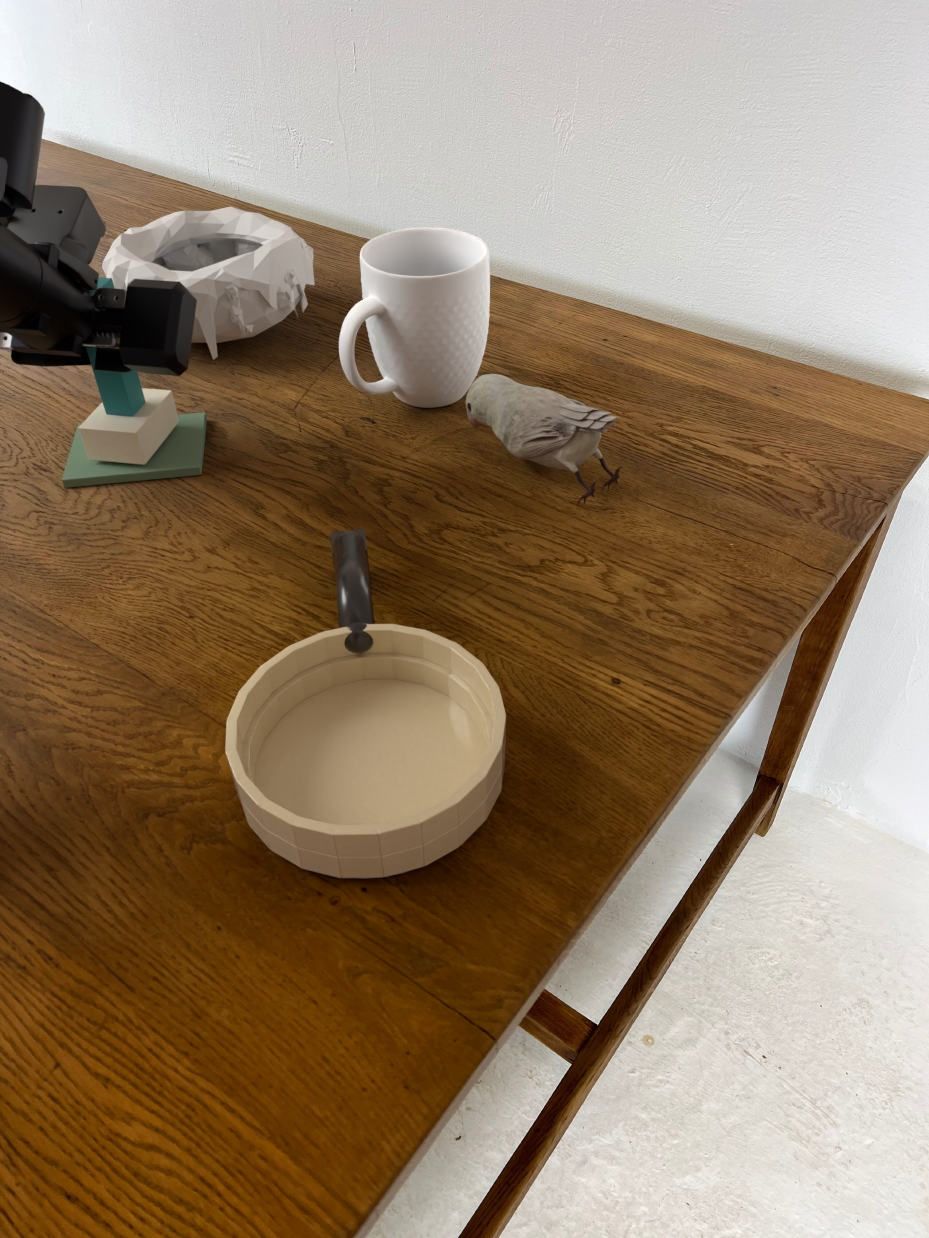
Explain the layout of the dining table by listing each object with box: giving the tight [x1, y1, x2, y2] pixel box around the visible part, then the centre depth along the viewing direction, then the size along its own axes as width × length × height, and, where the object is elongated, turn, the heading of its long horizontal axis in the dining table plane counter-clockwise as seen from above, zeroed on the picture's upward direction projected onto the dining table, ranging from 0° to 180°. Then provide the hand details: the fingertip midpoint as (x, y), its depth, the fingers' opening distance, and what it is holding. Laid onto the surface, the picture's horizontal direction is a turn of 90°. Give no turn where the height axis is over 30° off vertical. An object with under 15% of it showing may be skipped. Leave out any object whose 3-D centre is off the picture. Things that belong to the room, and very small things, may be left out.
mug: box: [338, 226, 491, 409], centre depth 82 cm, size 15×11×13 cm
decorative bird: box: [465, 373, 624, 507], centre depth 75 cm, size 5×16×8 cm, turn 41°
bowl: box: [101, 206, 316, 361], centre depth 94 cm, size 21×20×10 cm
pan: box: [224, 623, 507, 879], centre depth 53 cm, size 15×15×4 cm
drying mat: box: [61, 411, 208, 489], centre depth 80 cm, size 11×9×1 cm
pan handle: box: [330, 528, 376, 654], centre depth 62 cm, size 2×12×5 cm, turn 9°
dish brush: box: [78, 277, 179, 465], centre depth 75 cm, size 7×5×14 cm
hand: (122, 359), depth 76 cm, fingers closed on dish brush, 2 cm apart
